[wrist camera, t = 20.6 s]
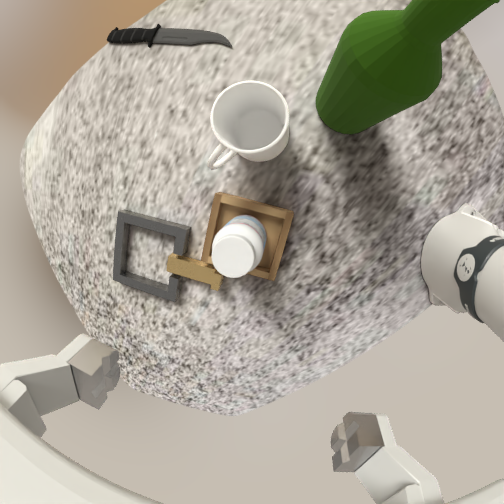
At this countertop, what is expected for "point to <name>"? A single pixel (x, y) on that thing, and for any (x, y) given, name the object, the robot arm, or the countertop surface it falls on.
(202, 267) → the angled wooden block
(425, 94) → the wine bottle
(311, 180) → the countertop surface
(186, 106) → the countertop surface
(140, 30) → the knife
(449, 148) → the countertop surface
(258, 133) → the mug
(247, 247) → the pill bottle
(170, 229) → the socket
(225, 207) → the tray
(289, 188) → the countertop surface
